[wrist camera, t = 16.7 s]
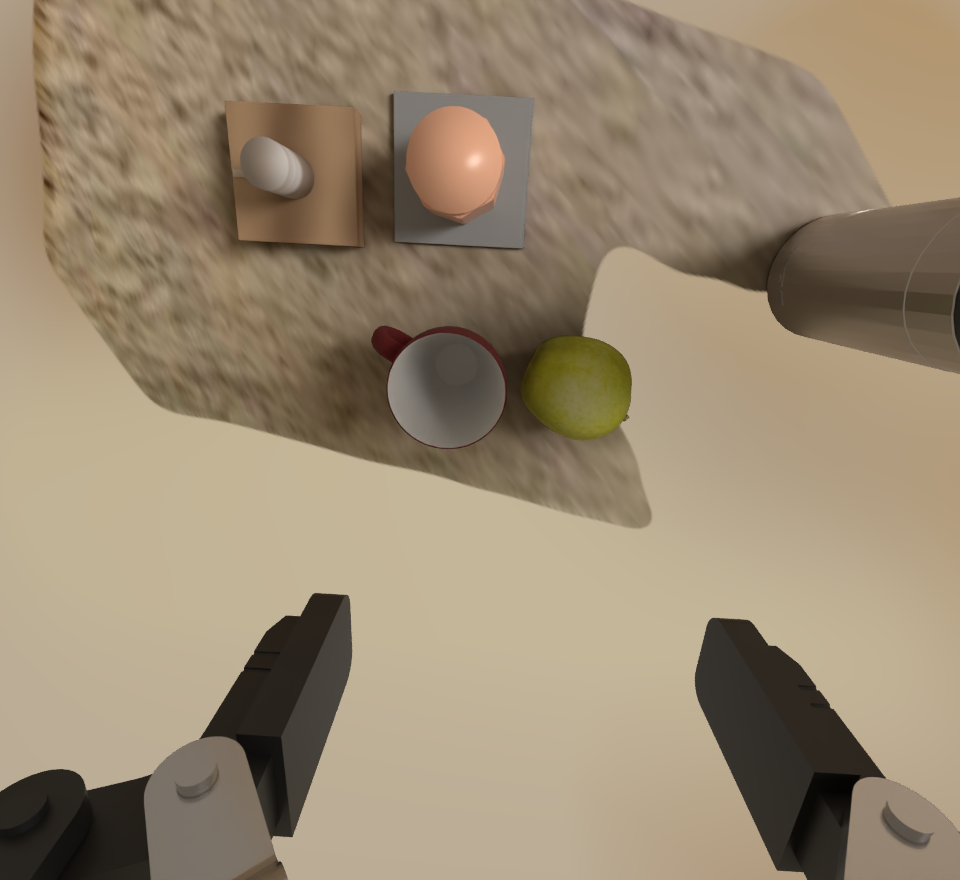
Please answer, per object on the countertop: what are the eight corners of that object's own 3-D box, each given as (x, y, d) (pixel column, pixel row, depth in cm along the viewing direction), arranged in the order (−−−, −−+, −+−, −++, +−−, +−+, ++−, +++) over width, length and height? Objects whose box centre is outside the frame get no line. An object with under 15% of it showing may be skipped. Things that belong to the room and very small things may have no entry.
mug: (369, 378, 43) (334, 410, 34) (400, 287, 41) (371, 295, 31) (482, 423, 44) (479, 466, 35) (519, 337, 42) (527, 359, 32)
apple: (601, 435, 44) (623, 470, 37) (505, 400, 44) (507, 429, 36) (641, 352, 42) (673, 372, 34) (540, 314, 41) (550, 325, 34)
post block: (360, 115, 37) (331, 82, 30) (364, 247, 40) (338, 243, 33) (238, 109, 37) (182, 75, 30) (251, 240, 40) (202, 236, 33)
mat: (533, 99, 36) (533, 98, 36) (522, 248, 39) (522, 248, 39) (394, 92, 36) (393, 91, 36) (395, 241, 40) (394, 241, 39)
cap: (514, 196, 38) (518, 183, 32) (444, 236, 39) (435, 231, 33) (475, 111, 36) (471, 81, 30) (404, 155, 37) (386, 134, 31)
